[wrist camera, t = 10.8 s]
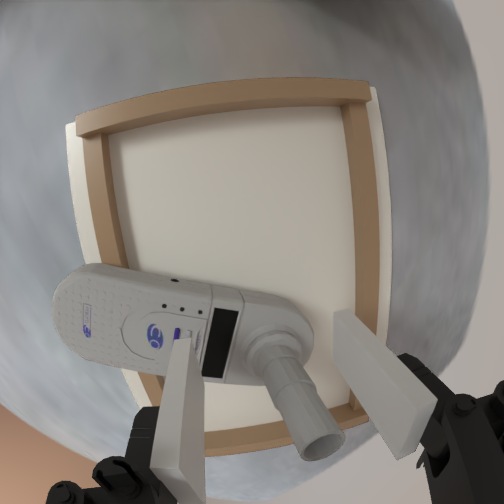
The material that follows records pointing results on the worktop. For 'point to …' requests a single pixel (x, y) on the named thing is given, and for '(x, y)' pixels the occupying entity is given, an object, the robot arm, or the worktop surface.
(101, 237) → the wooden framed canvas
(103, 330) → the electronic device
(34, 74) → the worktop surface
